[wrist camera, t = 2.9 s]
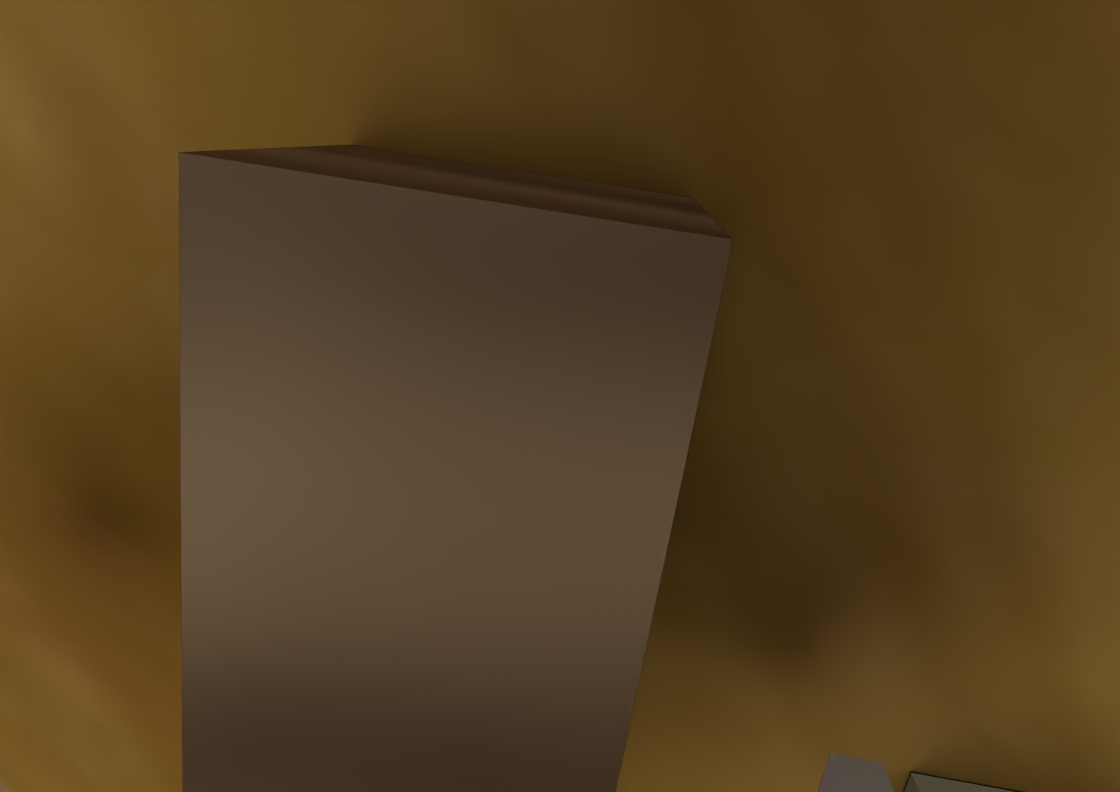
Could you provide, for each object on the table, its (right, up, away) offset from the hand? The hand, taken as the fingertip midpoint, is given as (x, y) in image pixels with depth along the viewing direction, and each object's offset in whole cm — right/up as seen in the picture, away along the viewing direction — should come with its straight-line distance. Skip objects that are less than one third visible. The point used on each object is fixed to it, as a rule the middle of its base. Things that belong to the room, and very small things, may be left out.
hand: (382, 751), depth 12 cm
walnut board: (+1, +2, +5) cm, 5 cm away
